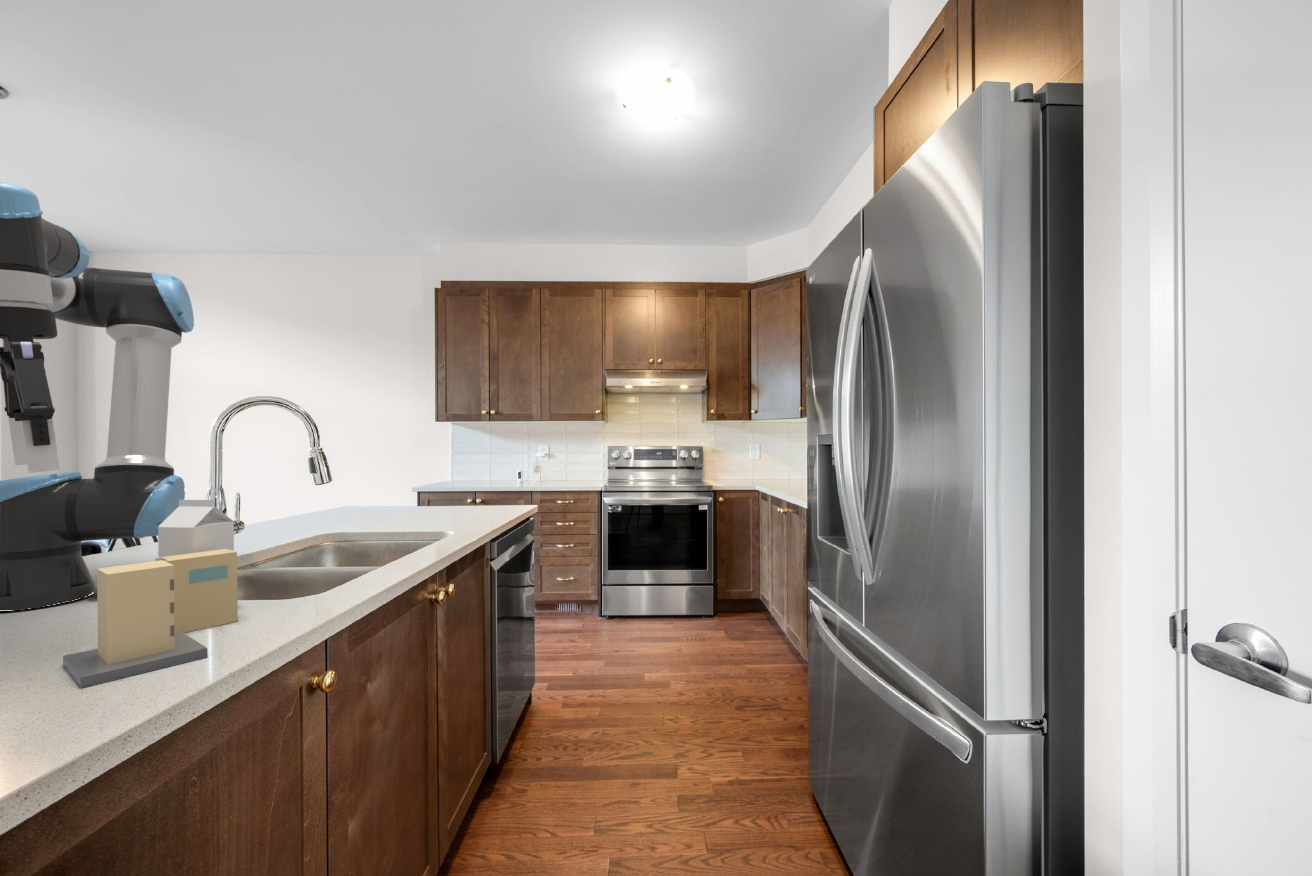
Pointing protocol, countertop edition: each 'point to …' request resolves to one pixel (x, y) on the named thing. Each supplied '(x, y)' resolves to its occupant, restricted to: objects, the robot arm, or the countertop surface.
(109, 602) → the tan rectangular block
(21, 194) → the robot arm
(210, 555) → the cardboard shipping box
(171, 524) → the milk carton
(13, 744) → the countertop surface
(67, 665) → the plate
